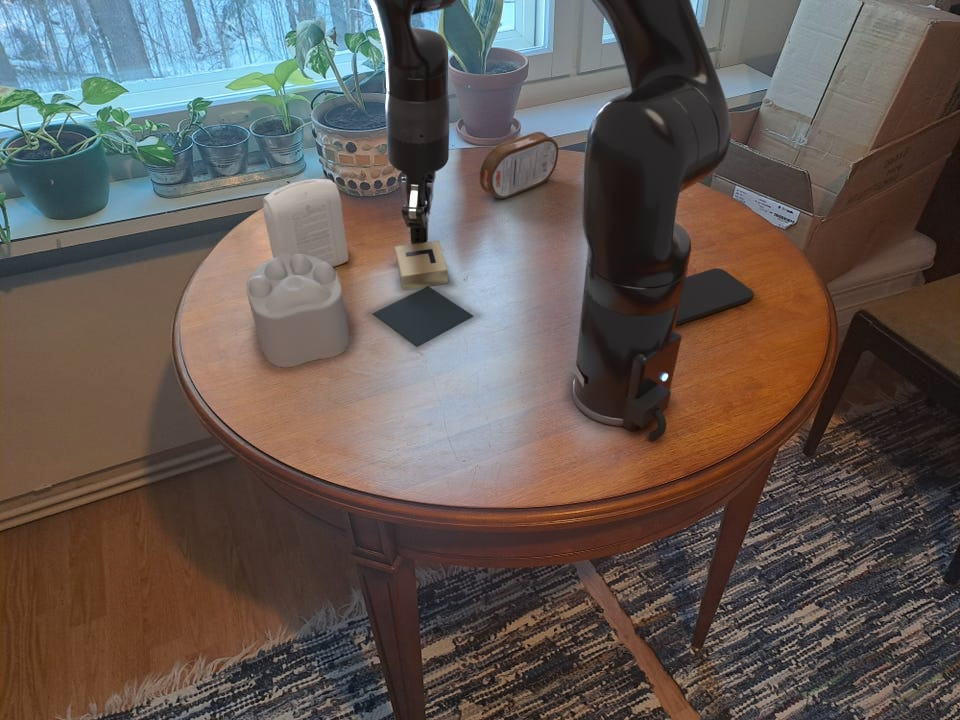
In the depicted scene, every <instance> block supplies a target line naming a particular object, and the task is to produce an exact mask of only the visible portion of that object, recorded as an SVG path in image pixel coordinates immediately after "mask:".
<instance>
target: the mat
mask: <svg viewBox="0 0 960 720" xmlns="http://www.w3.org/2000/svg"><path fill="white" fill-rule="evenodd" d="M372 315H373V316H374V317H376V318H377V319H379V320H380V321H381V322H383V323H384V324H385V325H387V326H388V328H390V329H392V330H393V331H395V332H396V333H397V334H399V335H400V336H401V337H403V338H404V339H406V340H407V341H408V342H410V343H411V344H412V345H414V346H415V347H420V346H421V345H423V344H425V343H427V342H428V341H429V342H430V341H431V340H432V339H434V338H437V337H438V336H440V335H441V334H443V333H445V332H447V331H449V330H452V329H453V328H454V327H457V326H458V325H460V324H462V323H463V322H465V321H467V320H469V319H471V318H473V317H474V314H472V313H470V312H469V311H468V310H466V309H464V308H463V307H461V306H460V305H458V304H457V303H455V302H454V301H452V300H451V299H449V298H447V297H446V296H444V295H442V294H441V293H440V292H439V291H436V290H435V289H434V288H432V287H431V286H427V287H422V288H421V289H419V290H416V291H415V292H413V293H411V294H409V295H406V296H405V297H403V298H400V299H398V300H396V301H394V302H393V303H390V304H388V305H387V306H384V307H381V308H380V309H378V310H376V311H374V312H372Z"/></svg>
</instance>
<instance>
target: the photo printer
mask: <svg viewBox="0 0 960 720" xmlns="http://www.w3.org/2000/svg"><path fill="white" fill-rule="evenodd" d="M342 206H343V205H342V199H341V194H340V192H339V188H338V186H337V184H336V183H335V182H333V180H331V179H327V178H311V179H305V180H299V181H295V182H292V183H288V184H286V185H283V186H281V187H278V188H277V189H275V190H273V191H272V192H270V193H268V194H266V195H265V196H264V197H263V198H262V208H263V217H264V221H265V226H266V230H267V235H268V240H269V245H270V250H271V253H272V258H274V257H276V256H279V255H283V254H288V253H297V254H304V255H309V256H313V257H316V258H318V259H320V260H322V261H324V262H326V263H329V264H330V265H331V266H332V267H333V268H335V267H337V266H340V265H343V264H346V263H347V262H349V251H348V244H347V236H346V230H345V229H346V228H345V222H344V215H343V207H342Z"/></svg>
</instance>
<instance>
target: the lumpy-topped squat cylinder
mask: <svg viewBox="0 0 960 720" xmlns="http://www.w3.org/2000/svg"><path fill="white" fill-rule="evenodd" d="M334 268H335V267H332V266H331V265H330V264H329V263H326V262H324V261H322V260H320V259H318V258H316V257H313V256H309V255H304V254H297V253H288V254H283V255H279V256H276V257H274V258H273V257H271V258H270V259H268V260H266V261H265V262H262V264H260V265H259V266H257V268H256V269H255V270H254V271H253V272H252V273H251V275H250V277H249V278H248V280H247V281H246V282H247V283H246V294H247V298H248V303H249V306H250V311H251V314H252V318H253V322H254V325H255V329H256V333H257V337H258V340H259V344H260V348H261V350H262V353H263V356H264V357H265V359H266V360H267V362H268V363H269V364H271V365H273V366H275V367H278V368H284V369H285V368H286V369H287V368H293V367H298V366H300V365H304V364H306V363H309V362H313V361H317V360H318V361H319V360H324V359H330V358H334V357H337V356H340V355H341V354H342V353H345V352H346V350H347V349H348V347H349V345H350V343H351V338H350V331H349V325H348V319H347V313H346V306H345V301H344V294H343V288H342V284H341V280H340V277H339V276H338V274H337V272H336V270H335V269H334Z"/></svg>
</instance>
